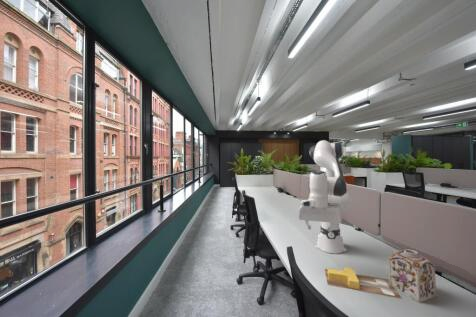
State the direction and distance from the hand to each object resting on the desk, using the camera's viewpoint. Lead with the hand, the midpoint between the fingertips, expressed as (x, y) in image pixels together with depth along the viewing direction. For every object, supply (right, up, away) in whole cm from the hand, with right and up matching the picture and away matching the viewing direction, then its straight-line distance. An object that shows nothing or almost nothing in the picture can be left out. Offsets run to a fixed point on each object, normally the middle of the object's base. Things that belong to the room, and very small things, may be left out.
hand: (319, 230), depth 97 cm
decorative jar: (+36, -23, -12) cm, 45 cm away
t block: (+9, -22, -4) cm, 24 cm away
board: (+16, -23, -7) cm, 29 cm away
